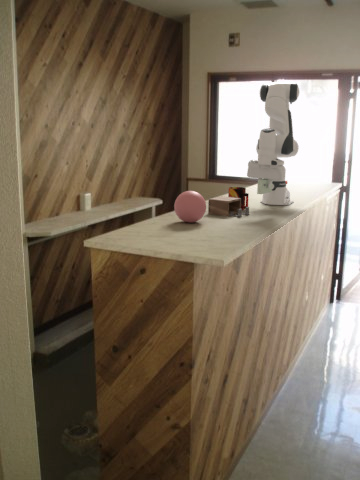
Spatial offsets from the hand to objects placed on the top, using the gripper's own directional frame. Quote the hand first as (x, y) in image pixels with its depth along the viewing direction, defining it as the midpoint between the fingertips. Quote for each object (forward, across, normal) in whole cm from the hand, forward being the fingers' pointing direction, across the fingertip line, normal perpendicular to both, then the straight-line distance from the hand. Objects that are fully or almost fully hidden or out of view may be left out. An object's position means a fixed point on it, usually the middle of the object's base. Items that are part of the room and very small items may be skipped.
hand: (264, 187), depth 256 cm
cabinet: (+15, -16, -8) cm, 23 cm away
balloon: (+15, -19, -39) cm, 46 cm away
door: (+3, 0, 0) cm, 3 cm away
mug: (+16, -20, +10) cm, 27 cm away
